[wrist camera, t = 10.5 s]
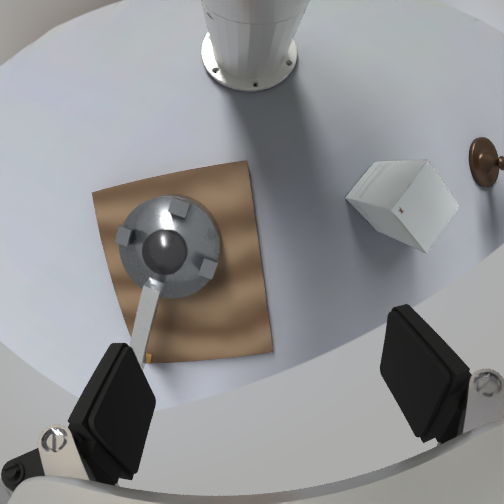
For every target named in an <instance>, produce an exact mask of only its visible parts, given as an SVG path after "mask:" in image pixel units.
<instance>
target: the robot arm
mask: <svg viewBox="0 0 504 504" xmlns="http://www.w3.org/2000/svg"><path fill="white" fill-rule="evenodd" d="M309 1H310V0H201V2H202V6H203V11H204V15H205V20H206V24H207V28H208V33H207V35H206V37H205V38H204V40H203V44H202V48H201V56H202V60H203V63H204V66H205V68H206V70H207V71H208V73H209V74H210V75H211V76H212V77H213V78H214V79H215V80H216V81H217V82H219V83H220V84H222V85H224V86H226V87H228V88H231V89H235V90H239V91H248V92H251V91H261V90H265V89H269V88H271V87H273V86H276V85H277V84H279V83H280V82H282V81H283V80H284V79H285V78H286V77H288V76H289V74H290V73H291V71H292V70H293V68H294V66H295V64H296V60H297V45H296V42H295V40H294V35H295V33H296V31H297V28H298V26H299V24H300V21H301V19H302V17H303V14H304V12H305V10H306V8H307V5H308V3H309ZM287 64H289V65H290V66H288V65H287ZM215 71H217V72H218V73H214V72H215ZM254 84H256V85H257V87H254V86H253V85H254ZM469 370H470V369H469V367H468V366H467V365H466V364H465V363H464V362H463V361H462V360H461V359H460V357H459V356H458V355H457V354H456V353H455V352H454V351H453V350H452V349H451V348H450V347H449V346H448V345H447V344H446V342H445V341H444V340H443V339H442V338H441V337H440V336H439V335H438V334H437V333H436V332H435V331H434V330H433V329H432V328H431V327H430V326H429V325H428V324H427V323H426V322H425V321H424V320H423V319H422V318H421V317H420V316H419V315H418V314H417V313H416V312H415V311H414V310H413V309H412V308H411V307H410V306H409V305H408V304H405V305H401V306H397V307H394V308H393V309H392V311H391V312H390V313H389V314H388V319H387V327H386V334H385V340H384V347H383V353H382V358H381V364H380V372H381V375H382V377H383V379H384V380H385V382H386V384H387V386H388V387H389V389H390V391H391V393H392V394H393V396H394V398H395V400H396V402H397V403H398V405H399V407H400V408H401V410H402V412H403V414H404V416H405V418H406V420H407V421H408V423H409V425H410V427H411V429H412V431H413V433H414V434H415V436H416V437H420V438H421V440H422V442H423V443H424V442H427V441H429V440H431V439H433V438H436V440H437V442H438V444H437V447H435V448H432V449H430V450H428V451H426V452H423V453H421V454H419V455H417V456H414V457H411V458H409V459H406V460H404V461H401V462H399V463H396V464H393V465H391V466H388V467H385V468H383V469H380V470H376V471H373V472H370V473H367V474H364V475H360V476H357V477H353V478H349V479H346V480H342V481H338V482H333V483H329V484H324V485H320V486H315V487H310V488H304V489H299V490H292V491H284V492H276V493H267V494H257V495H256V494H255V495H239V496H194V495H177V494H166V493H157V492H150V491H143V490H135V489H129V488H123V487H120V486H119V485H118V479H119V478H123V479H128V480H132V479H133V475H134V474H135V473H137V472H138V468H139V464H140V461H141V457H142V453H143V449H144V445H145V441H146V438H147V434H148V430H149V426H150V422H151V419H152V416H153V412H154V409H155V405H156V399H155V396H154V394H153V392H152V390H151V388H150V386H149V384H148V381H147V379H146V377H145V375H144V373H143V371H142V369H141V366H140V364H139V362H138V359H137V357H136V355H135V353H134V350H133V348H132V347H129V346H128V344H126V343H112V344H111V345H110V346H109V348H108V349H107V351H106V353H105V354H104V356H103V358H102V359H101V361H100V363H99V365H98V366H97V368H96V370H95V371H94V373H93V375H92V377H91V378H90V380H89V382H88V384H87V386H86V387H85V389H84V391H83V393H82V395H81V396H80V398H79V400H78V402H77V404H76V406H75V408H74V409H73V411H72V413H71V415H70V417H69V419H68V422H69V423H70V424H69V426H68V428H67V427H66V426H64V425H61V424H54V425H51V426H49V427H47V428H46V429H44V430H43V431H42V433H41V434H40V436H39V439H38V448H37V449H35V450H33V451H30V452H28V453H26V454H24V455H21V456H19V457H17V458H14V459H12V460H10V461H8V462H7V463H6V464H5V465H4V467H3V469H2V473H1V476H2V479H0V504H504V379H503V377H502V376H501V375H500V374H499V373H498V372H496V371H494V370H491V369H481V370H478V371H476V372H474V373H473V375H471V373H470V372H469Z"/></svg>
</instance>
